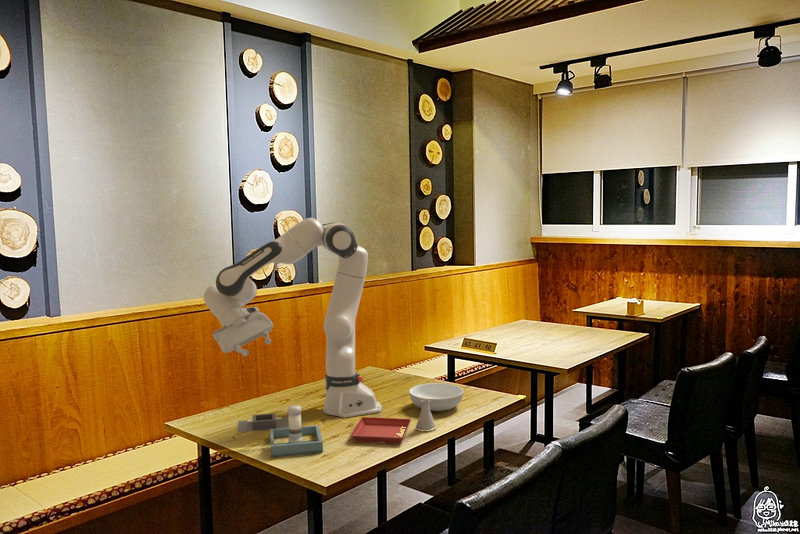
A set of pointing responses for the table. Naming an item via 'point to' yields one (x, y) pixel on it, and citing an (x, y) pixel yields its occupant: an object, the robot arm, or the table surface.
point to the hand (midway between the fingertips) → (258, 348)
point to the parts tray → (296, 448)
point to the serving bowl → (437, 395)
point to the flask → (425, 417)
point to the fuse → (295, 424)
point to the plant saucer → (379, 429)
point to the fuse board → (263, 423)
